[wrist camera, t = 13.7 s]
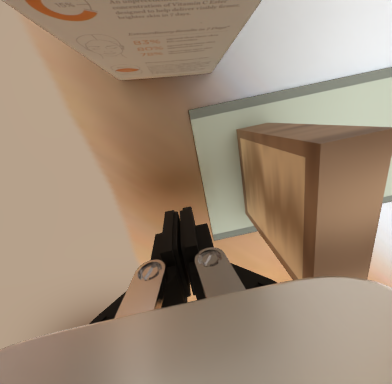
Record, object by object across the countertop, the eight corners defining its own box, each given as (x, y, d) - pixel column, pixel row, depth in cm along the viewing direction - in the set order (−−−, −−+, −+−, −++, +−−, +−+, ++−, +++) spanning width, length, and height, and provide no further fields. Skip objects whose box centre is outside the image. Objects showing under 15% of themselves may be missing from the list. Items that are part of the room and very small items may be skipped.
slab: (236, 129, 17) (320, 143, 7) (268, 122, 17) (397, 127, 7) (245, 213, 21) (311, 306, 10) (271, 207, 21) (363, 294, 10)
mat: (188, 110, 17) (188, 110, 16) (433, 58, 17) (442, 56, 17) (213, 237, 22) (214, 240, 22) (401, 195, 22) (407, 198, 22)
